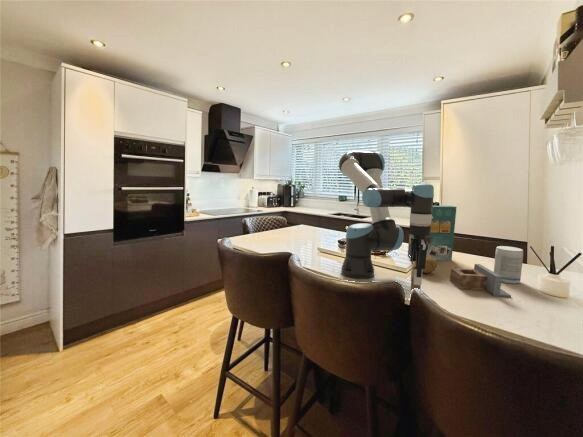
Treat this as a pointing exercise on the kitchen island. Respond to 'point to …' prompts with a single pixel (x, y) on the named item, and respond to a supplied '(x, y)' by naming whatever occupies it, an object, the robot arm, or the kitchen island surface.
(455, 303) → the kitchen island surface
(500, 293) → the bracket
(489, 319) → the kitchen island surface
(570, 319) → the kitchen island surface
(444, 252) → the cake mix box
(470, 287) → the block
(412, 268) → the dowel
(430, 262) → the potato
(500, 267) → the supplement tub
